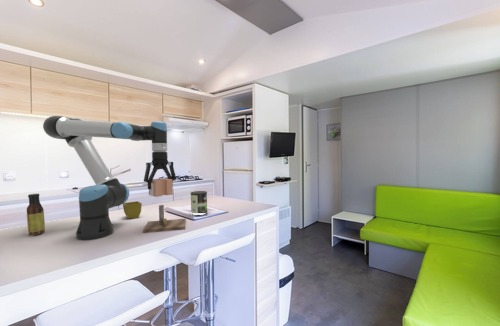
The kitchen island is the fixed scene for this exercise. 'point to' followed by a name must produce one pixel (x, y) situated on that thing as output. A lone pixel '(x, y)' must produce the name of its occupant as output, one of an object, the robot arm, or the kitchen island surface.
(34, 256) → the kitchen island surface
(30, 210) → the sauce bottle
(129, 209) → the flower pot
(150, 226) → the base
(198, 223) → the kitchen island surface
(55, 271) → the kitchen island surface
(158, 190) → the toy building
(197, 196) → the coffee can
